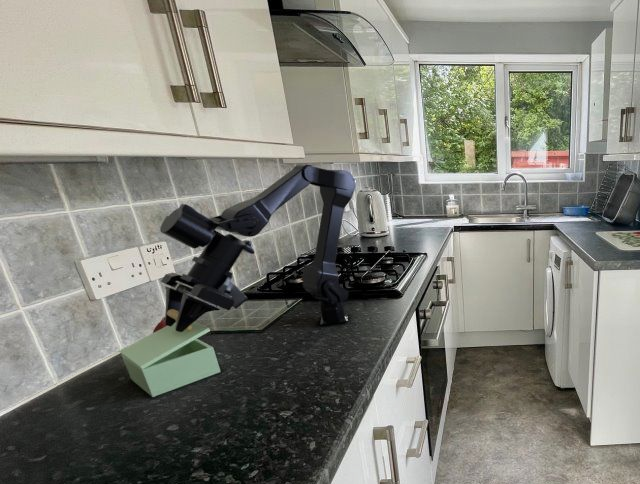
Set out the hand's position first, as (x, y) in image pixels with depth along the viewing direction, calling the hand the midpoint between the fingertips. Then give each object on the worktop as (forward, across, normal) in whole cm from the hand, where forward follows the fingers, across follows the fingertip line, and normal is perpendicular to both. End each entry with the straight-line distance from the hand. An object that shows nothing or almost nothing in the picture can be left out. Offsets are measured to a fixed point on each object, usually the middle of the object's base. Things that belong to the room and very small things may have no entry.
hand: (173, 328), depth 81 cm
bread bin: (+8, 0, -5) cm, 10 cm away
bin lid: (+3, 0, 0) cm, 3 cm away
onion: (+5, +15, -9) cm, 18 cm away
